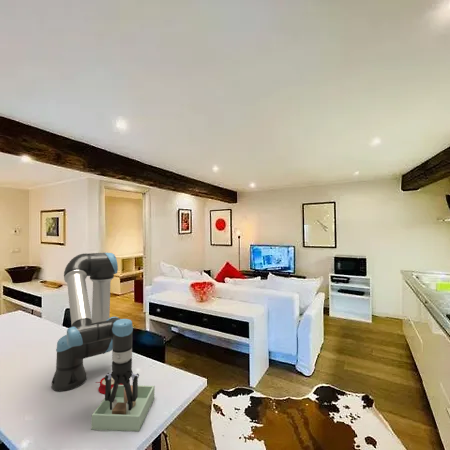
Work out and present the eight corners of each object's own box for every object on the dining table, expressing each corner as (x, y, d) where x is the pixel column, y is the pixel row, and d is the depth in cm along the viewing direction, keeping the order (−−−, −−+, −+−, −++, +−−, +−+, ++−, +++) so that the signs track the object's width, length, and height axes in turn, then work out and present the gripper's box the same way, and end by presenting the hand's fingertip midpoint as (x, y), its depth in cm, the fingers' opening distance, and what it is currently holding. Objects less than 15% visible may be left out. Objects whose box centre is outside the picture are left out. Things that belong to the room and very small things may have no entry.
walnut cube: (111, 423, 102) (112, 410, 102) (117, 414, 107) (117, 402, 107) (124, 424, 102) (124, 410, 102) (129, 415, 107) (129, 402, 107)
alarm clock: (110, 372, 134) (130, 373, 127) (112, 384, 133) (132, 386, 126) (92, 382, 125) (113, 384, 118) (93, 396, 124) (114, 398, 117)
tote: (91, 429, 100) (91, 415, 100) (114, 397, 119) (114, 384, 119) (138, 431, 99) (139, 416, 99) (154, 398, 119) (154, 385, 119)
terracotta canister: (121, 408, 111) (122, 392, 111) (126, 401, 116) (126, 385, 116) (133, 409, 110) (133, 392, 111) (137, 401, 115) (137, 385, 116)
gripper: (95, 363, 102) (94, 423, 101) (140, 364, 101) (139, 425, 101) (104, 354, 109) (103, 410, 109) (147, 355, 109) (146, 411, 108)
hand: (121, 417), depth 105 cm, fingers closed on walnut cube, 5 cm apart
